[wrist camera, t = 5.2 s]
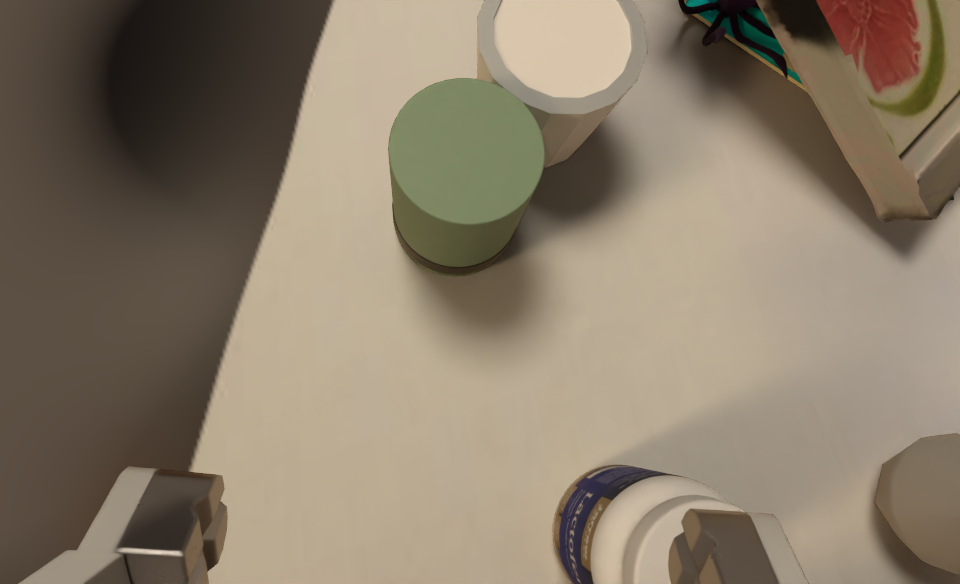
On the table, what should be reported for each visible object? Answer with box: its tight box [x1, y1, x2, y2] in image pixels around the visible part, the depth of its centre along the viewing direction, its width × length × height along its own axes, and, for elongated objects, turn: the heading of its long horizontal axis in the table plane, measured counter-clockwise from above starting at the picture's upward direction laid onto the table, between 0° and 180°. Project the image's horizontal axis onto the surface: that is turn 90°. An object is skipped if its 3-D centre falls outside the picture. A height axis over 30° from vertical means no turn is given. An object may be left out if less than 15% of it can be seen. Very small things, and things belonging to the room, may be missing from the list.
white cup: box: [477, 0, 647, 168], centre depth 30 cm, size 7×7×7 cm
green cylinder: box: [388, 78, 545, 276], centre depth 28 cm, size 6×6×8 cm
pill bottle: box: [553, 465, 745, 584], centre depth 25 cm, size 6×6×10 cm
